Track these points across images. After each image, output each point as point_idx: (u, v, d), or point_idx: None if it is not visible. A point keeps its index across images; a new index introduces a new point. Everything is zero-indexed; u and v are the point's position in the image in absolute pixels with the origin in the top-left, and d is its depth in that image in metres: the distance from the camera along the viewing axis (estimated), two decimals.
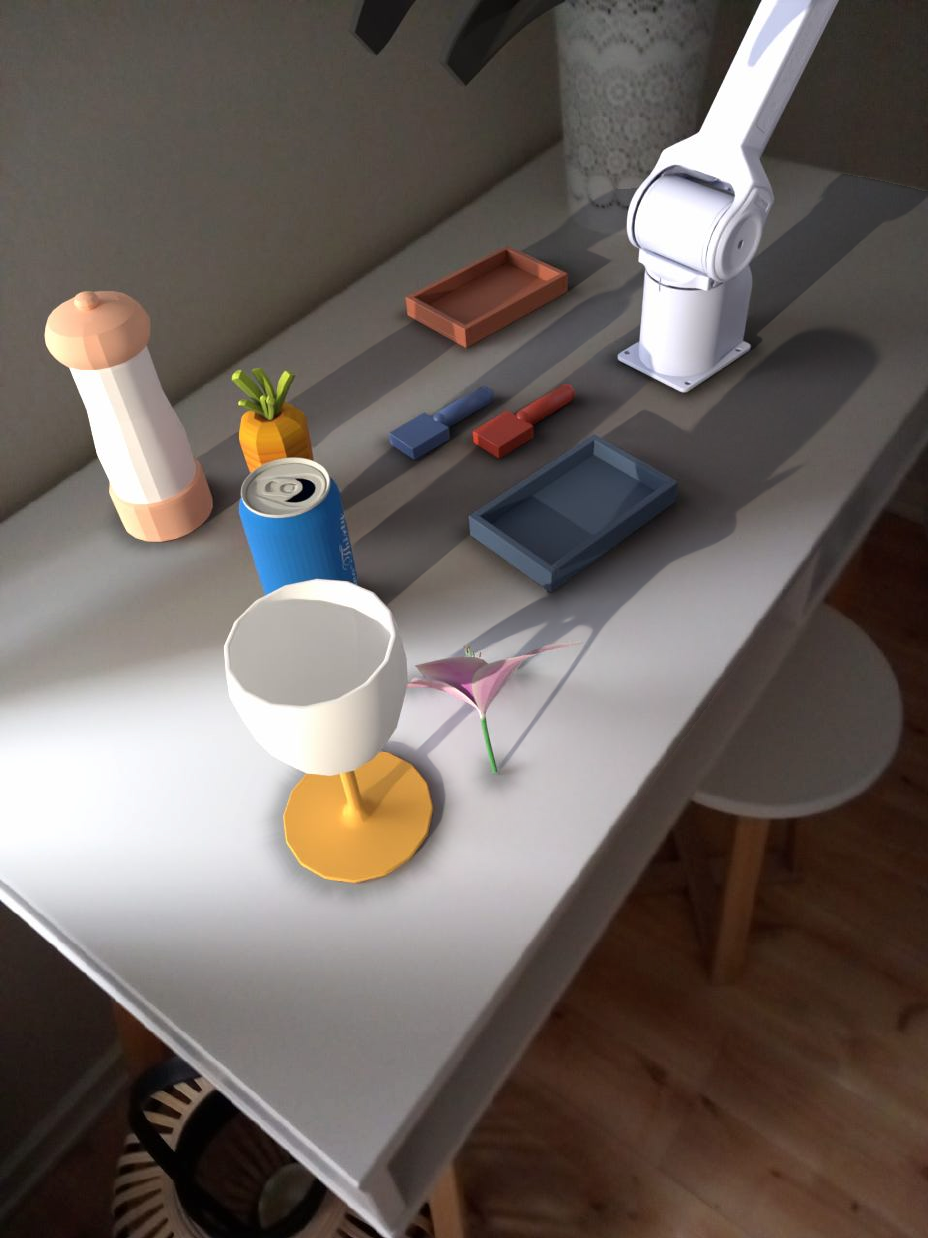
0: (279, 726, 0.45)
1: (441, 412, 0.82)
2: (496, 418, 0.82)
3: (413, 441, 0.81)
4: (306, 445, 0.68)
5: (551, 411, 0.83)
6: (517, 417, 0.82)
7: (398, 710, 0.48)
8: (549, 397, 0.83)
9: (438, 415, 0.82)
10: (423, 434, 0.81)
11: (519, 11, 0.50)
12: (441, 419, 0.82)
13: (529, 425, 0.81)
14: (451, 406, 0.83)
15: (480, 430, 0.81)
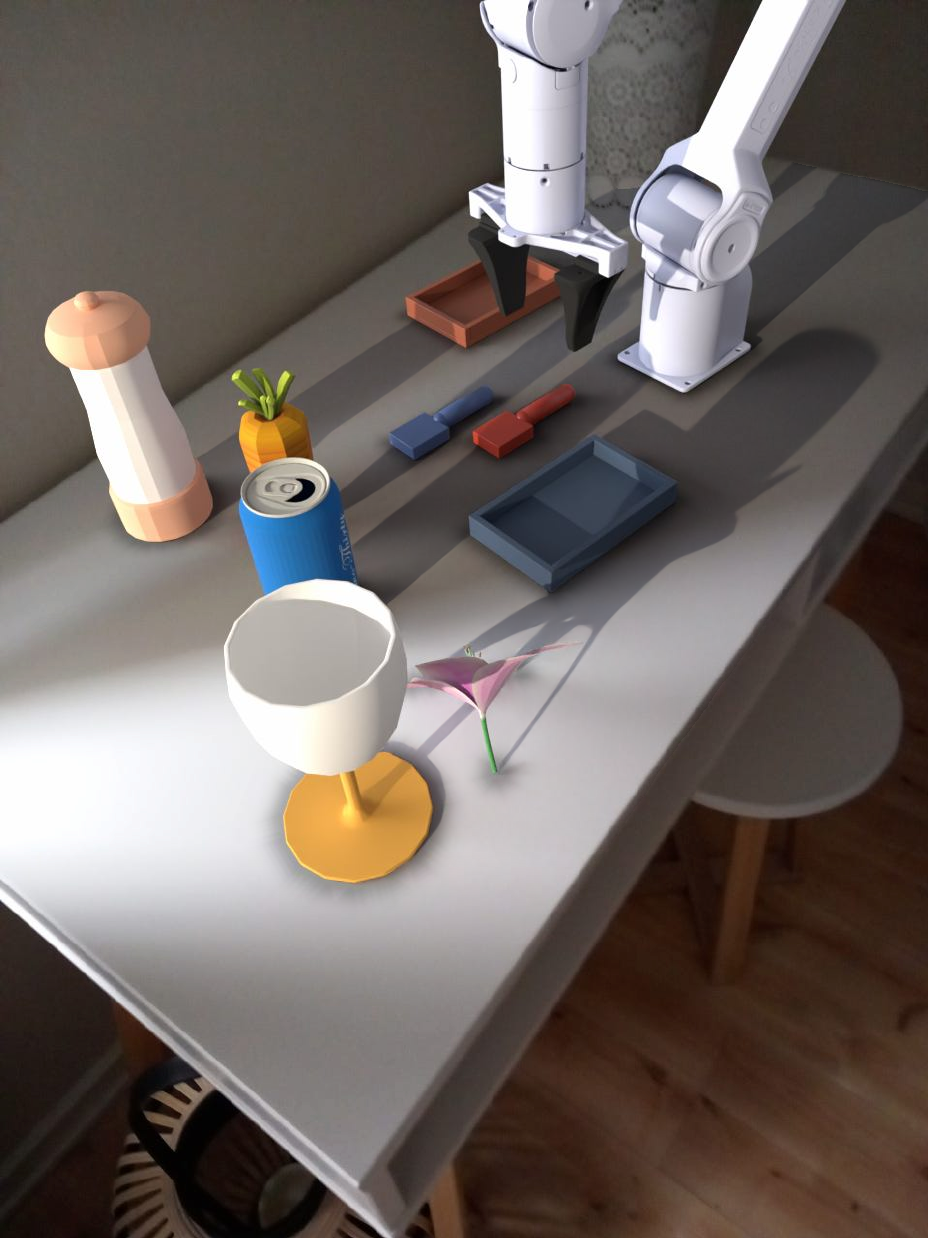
0: (279, 726, 0.45)
1: (441, 412, 0.82)
2: (496, 418, 0.82)
3: (413, 441, 0.81)
4: (306, 445, 0.68)
5: (551, 411, 0.83)
6: (517, 417, 0.82)
7: (398, 710, 0.48)
8: (549, 397, 0.83)
9: (438, 415, 0.82)
10: (423, 434, 0.81)
11: (601, 291, 0.72)
12: (441, 419, 0.82)
13: (529, 425, 0.81)
14: (451, 406, 0.83)
15: (480, 430, 0.81)
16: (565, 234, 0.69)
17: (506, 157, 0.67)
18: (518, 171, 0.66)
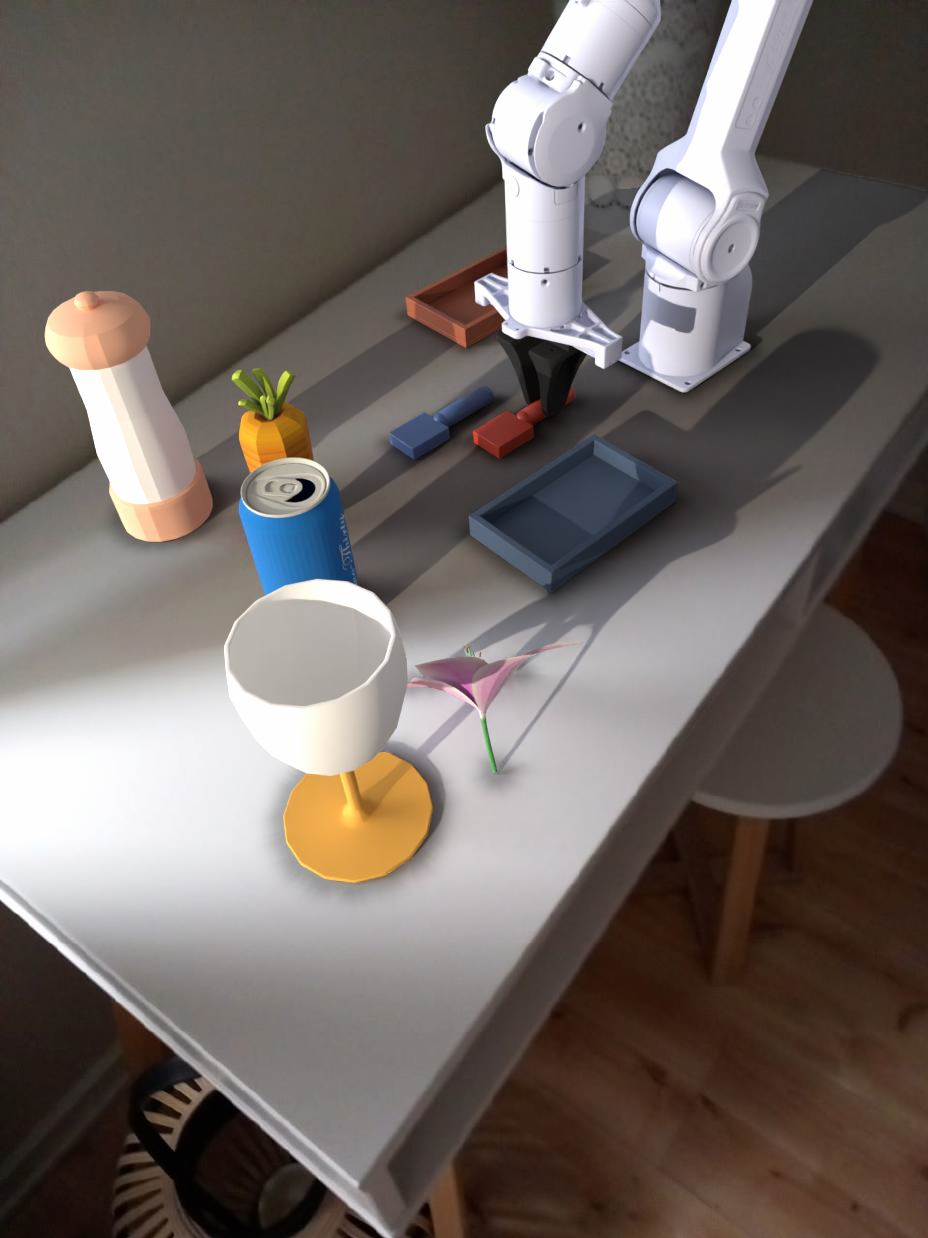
0: (279, 726, 0.45)
1: (441, 412, 0.82)
2: (496, 418, 0.82)
3: (413, 441, 0.81)
4: (306, 445, 0.68)
5: None
6: (518, 417, 0.82)
7: (398, 710, 0.48)
8: None
9: (438, 415, 0.82)
10: (423, 434, 0.81)
11: (572, 363, 0.79)
12: (441, 419, 0.82)
13: (529, 425, 0.81)
14: (451, 406, 0.83)
15: (480, 430, 0.81)
16: (564, 327, 0.75)
17: (509, 259, 0.72)
18: (520, 273, 0.72)
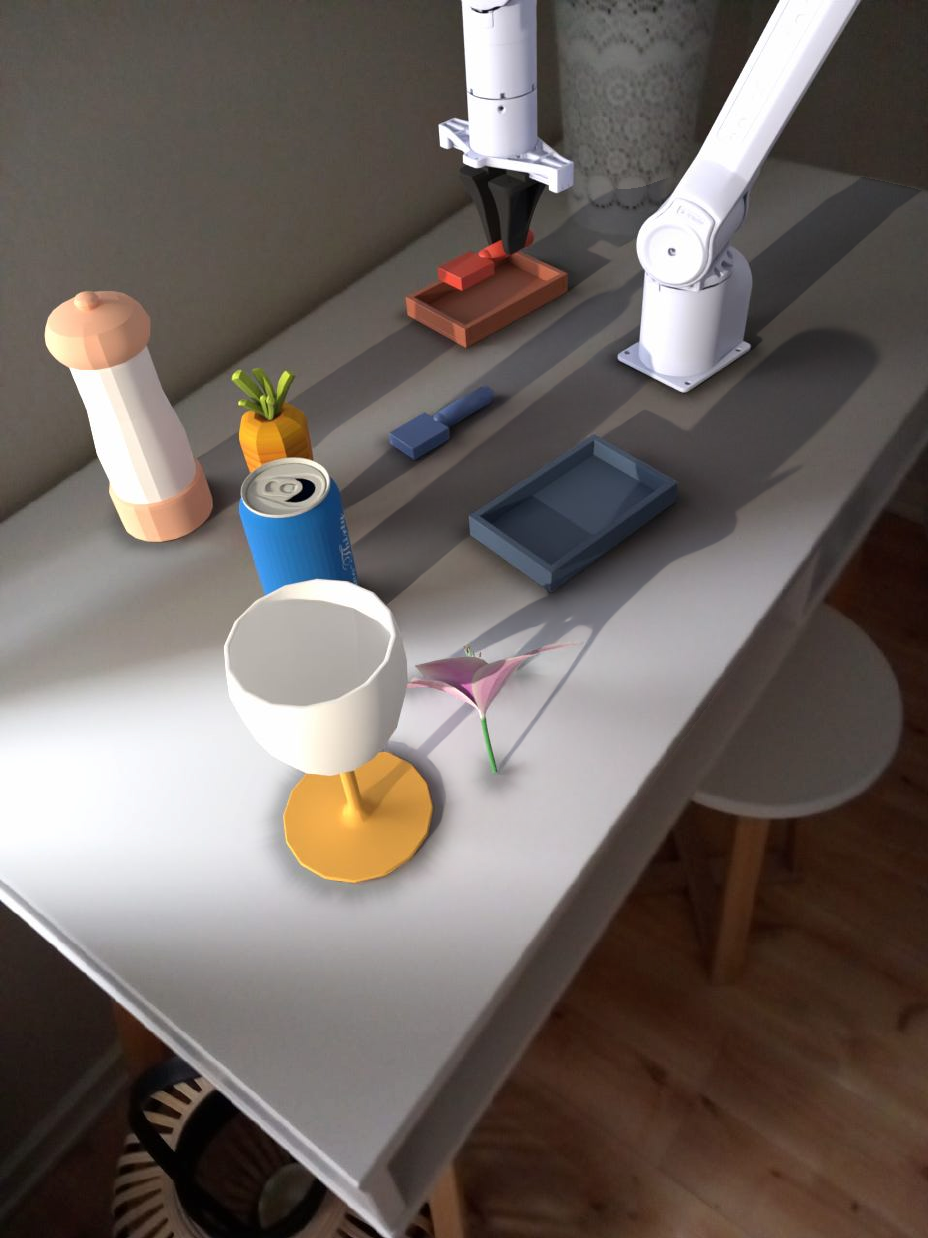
0: (280, 726, 0.45)
1: (441, 412, 0.82)
2: (459, 256, 0.88)
3: (413, 441, 0.81)
4: (306, 445, 0.68)
5: None
6: (479, 255, 0.87)
7: (398, 710, 0.48)
8: None
9: (438, 415, 0.82)
10: (423, 434, 0.81)
11: (530, 199, 0.85)
12: (441, 419, 0.82)
13: (490, 261, 0.87)
14: (451, 406, 0.83)
15: (444, 266, 0.87)
16: (520, 157, 0.80)
17: None
18: (478, 100, 0.78)
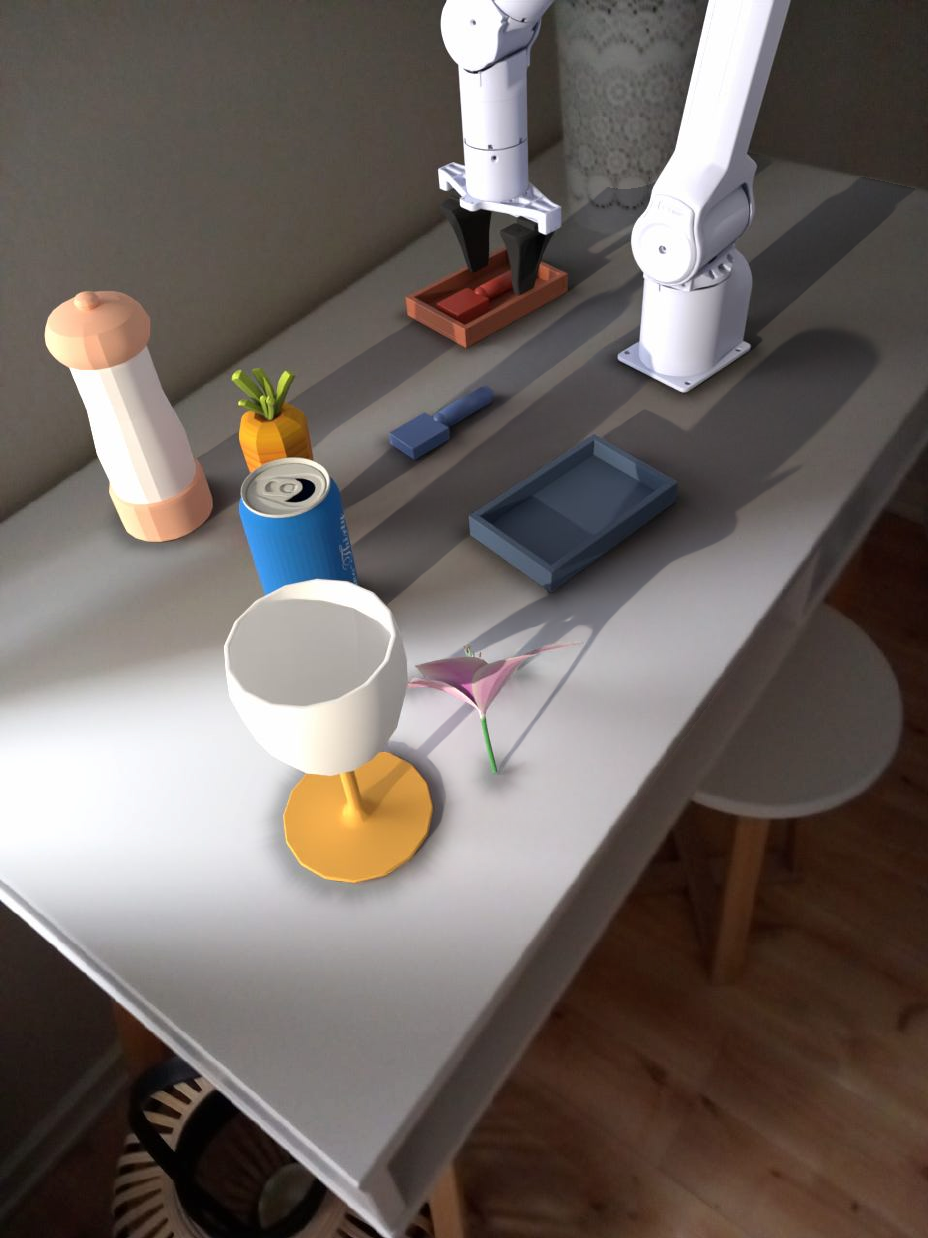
0: (280, 726, 0.45)
1: (441, 412, 0.82)
2: (457, 293, 0.95)
3: (413, 441, 0.81)
4: (306, 445, 0.68)
5: (505, 288, 0.96)
6: (475, 292, 0.95)
7: (398, 710, 0.48)
8: (503, 276, 0.96)
9: (438, 415, 0.82)
10: (423, 434, 0.81)
11: (539, 245, 0.91)
12: (441, 419, 0.82)
13: (485, 298, 0.94)
14: (451, 406, 0.83)
15: (443, 302, 0.94)
16: (512, 201, 0.88)
17: None
18: (474, 150, 0.85)
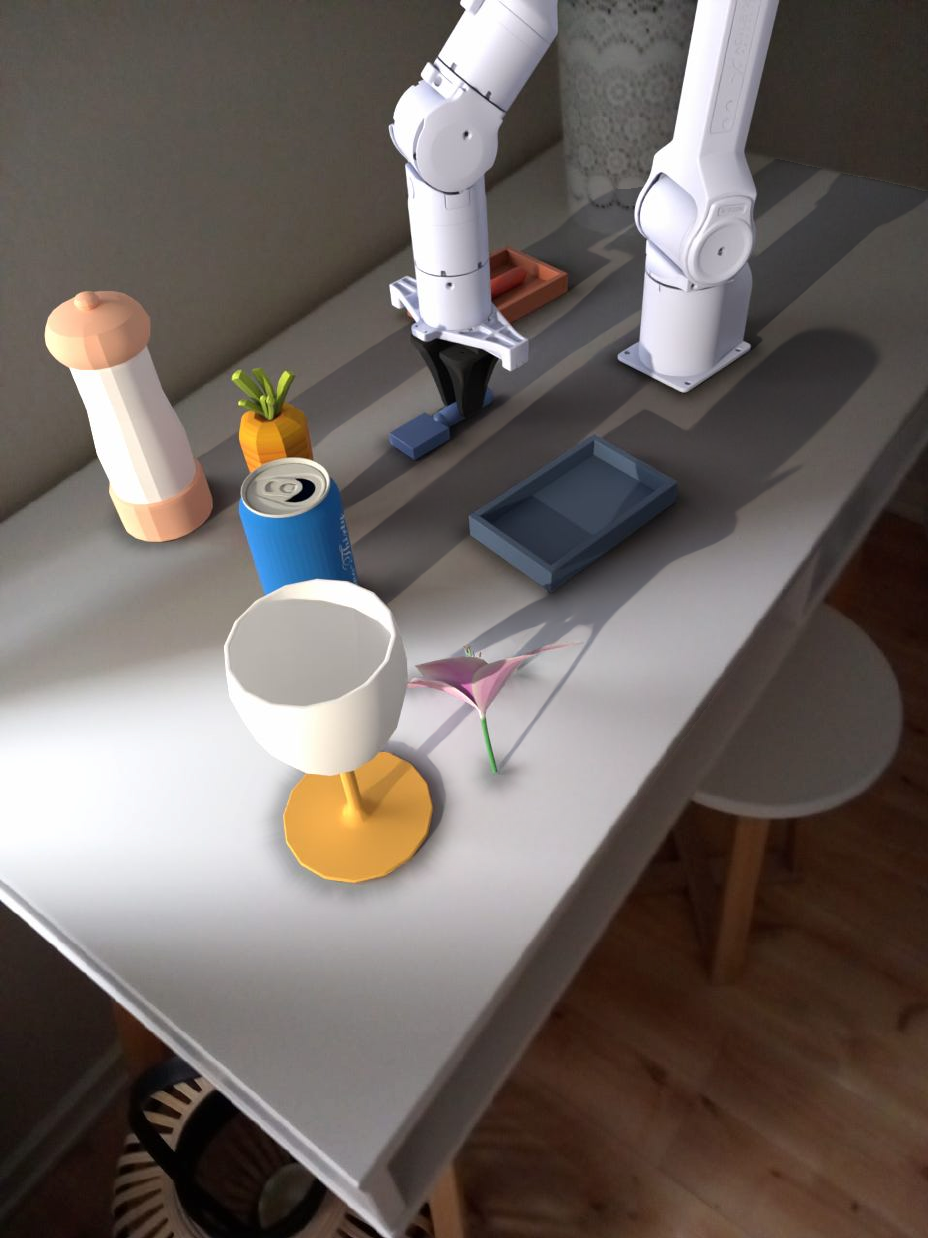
0: (280, 726, 0.45)
1: (441, 412, 0.82)
2: None
3: (413, 441, 0.81)
4: (306, 445, 0.68)
5: (505, 288, 0.96)
6: None
7: (398, 710, 0.48)
8: (503, 276, 0.96)
9: (438, 415, 0.82)
10: (423, 434, 0.81)
11: (486, 365, 0.80)
12: (441, 419, 0.82)
13: None
14: (451, 406, 0.83)
15: None
16: (472, 330, 0.75)
17: (414, 259, 0.73)
18: (426, 276, 0.73)
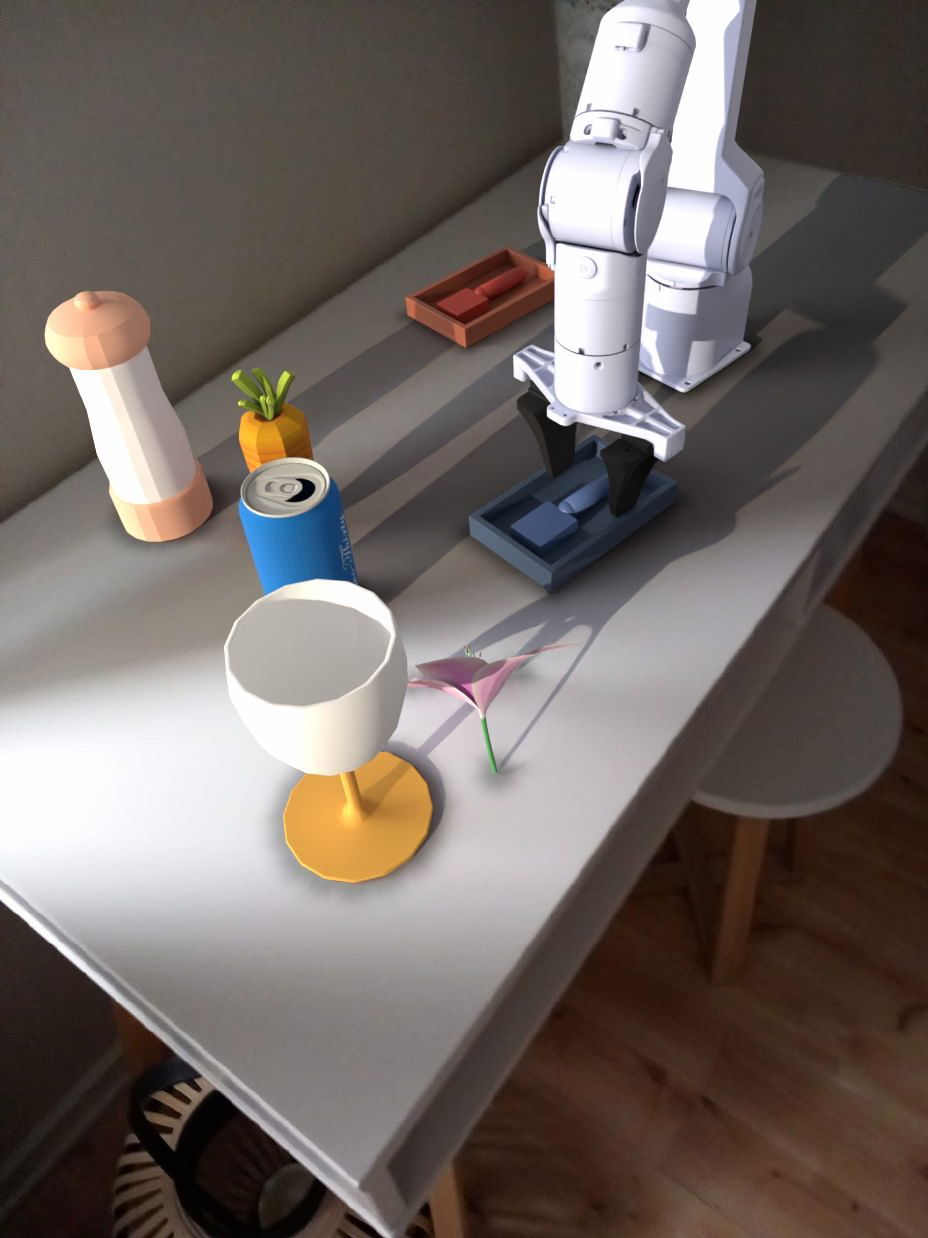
0: (280, 726, 0.45)
1: (568, 501, 0.73)
2: (457, 293, 0.95)
3: (539, 536, 0.71)
4: (306, 445, 0.68)
5: (505, 288, 0.96)
6: (475, 292, 0.95)
7: (398, 710, 0.48)
8: (503, 276, 0.96)
9: (565, 505, 0.73)
10: (550, 528, 0.72)
11: (647, 461, 0.69)
12: (568, 510, 0.73)
13: (485, 298, 0.94)
14: (578, 494, 0.73)
15: (443, 302, 0.94)
16: (618, 413, 0.66)
17: (574, 349, 0.63)
18: (570, 354, 0.63)
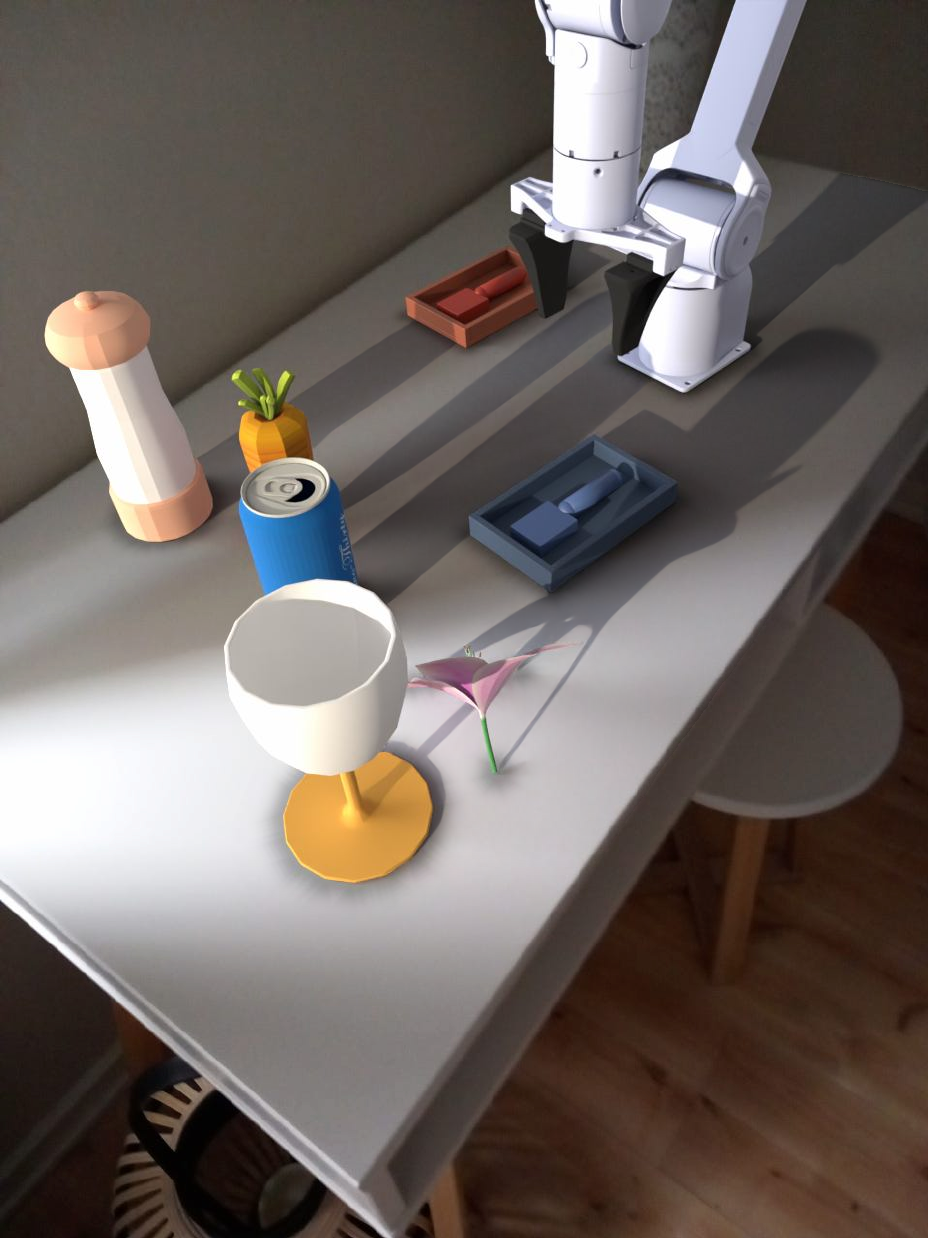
0: (280, 726, 0.45)
1: (568, 501, 0.73)
2: (457, 293, 0.95)
3: (539, 536, 0.71)
4: (306, 445, 0.68)
5: (505, 288, 0.96)
6: (475, 292, 0.95)
7: (398, 710, 0.48)
8: (503, 276, 0.96)
9: (565, 505, 0.73)
10: (550, 528, 0.72)
11: (651, 291, 0.68)
12: (568, 510, 0.73)
13: (485, 298, 0.94)
14: (578, 494, 0.73)
15: (443, 302, 0.94)
16: (617, 229, 0.65)
17: (565, 151, 0.62)
18: (570, 161, 0.62)
